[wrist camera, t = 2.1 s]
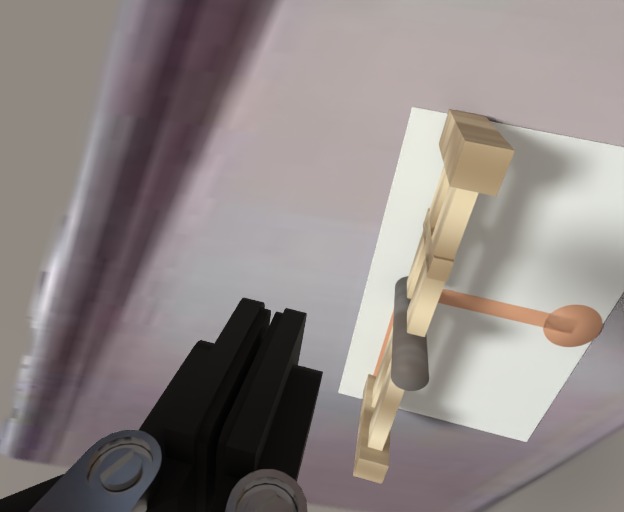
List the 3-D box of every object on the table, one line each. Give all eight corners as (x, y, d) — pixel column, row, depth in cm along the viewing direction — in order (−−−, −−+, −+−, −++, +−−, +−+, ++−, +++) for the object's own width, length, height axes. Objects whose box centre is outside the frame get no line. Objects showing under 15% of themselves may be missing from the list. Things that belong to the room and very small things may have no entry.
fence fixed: (386, 394, 35) (380, 497, 28) (363, 388, 36) (351, 489, 28) (426, 278, 29) (434, 368, 22) (398, 271, 30) (395, 359, 22)
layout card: (527, 440, 35) (527, 442, 35) (338, 390, 36) (338, 393, 36) (706, 162, 23) (709, 163, 22) (412, 106, 24) (412, 107, 24)
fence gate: (428, 278, 29) (434, 351, 22) (399, 271, 29) (397, 342, 23) (485, 115, 23) (514, 150, 17) (449, 109, 23) (465, 140, 17)
